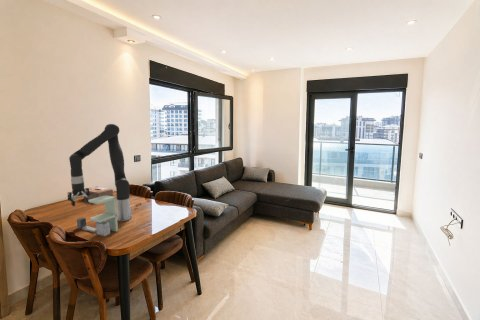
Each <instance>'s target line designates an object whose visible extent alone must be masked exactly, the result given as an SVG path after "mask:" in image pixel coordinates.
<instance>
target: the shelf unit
mask: <svg viewBox="0 0 480 320" xmlns="http://www.w3.org/2000/svg"><path fill="white" fill-rule="evenodd" d="M87 203H90V204H95V205H102V204H104V211H105V212H102V213H101V214H97V215H94V216H92V217H89V221H92V222H95V223H96V222H99V223H100V222H103V221H106V222H109V226H110V231H112V232H118V231H119V226H118V225H119V222H118V212H117V199H116V196H114V195H113V196H108V195H104V196H101V197H97V198H94V199H90V200H88V201H87Z"/></svg>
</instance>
